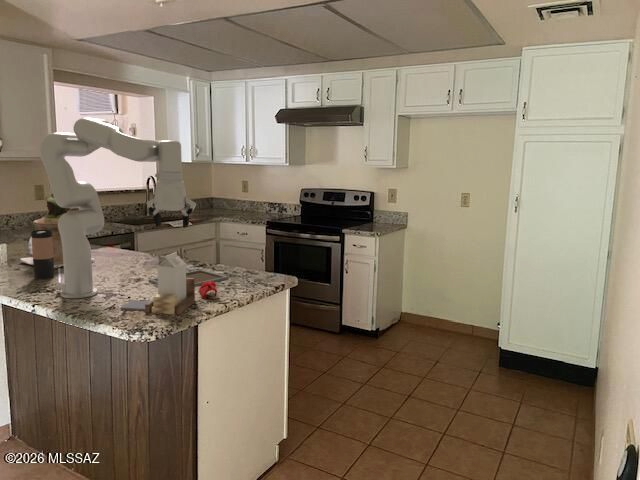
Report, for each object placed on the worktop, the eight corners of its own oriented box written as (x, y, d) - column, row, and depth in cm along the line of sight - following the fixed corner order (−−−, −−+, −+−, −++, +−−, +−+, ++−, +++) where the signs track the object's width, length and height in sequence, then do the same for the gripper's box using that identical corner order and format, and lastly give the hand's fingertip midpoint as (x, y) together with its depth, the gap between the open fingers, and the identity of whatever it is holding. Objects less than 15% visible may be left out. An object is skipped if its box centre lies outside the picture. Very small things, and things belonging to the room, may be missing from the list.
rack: (145, 313, 164) (144, 287, 163) (163, 300, 179) (162, 276, 178) (179, 314, 163) (179, 289, 162) (194, 301, 178) (194, 278, 177)
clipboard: (228, 276, 213) (169, 289, 190) (228, 280, 213) (169, 293, 190) (201, 269, 225) (142, 280, 202) (201, 272, 225) (142, 284, 202)
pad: (120, 309, 168) (120, 307, 167) (132, 301, 176) (132, 300, 176) (145, 310, 167) (145, 308, 167) (156, 302, 176) (156, 301, 176)
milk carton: (158, 307, 170) (156, 255, 167) (169, 302, 177) (167, 251, 174) (176, 310, 169) (175, 256, 165) (186, 304, 175) (185, 252, 172)
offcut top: (154, 301, 164) (154, 296, 164) (158, 298, 168) (158, 293, 168) (172, 302, 164) (172, 297, 164) (176, 299, 167) (176, 294, 167)
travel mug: (48, 274, 212) (45, 229, 208) (58, 277, 208) (55, 230, 204) (30, 277, 205) (27, 231, 202) (40, 280, 201) (37, 233, 198)
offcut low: (151, 313, 165) (151, 307, 165) (157, 310, 169) (156, 304, 168) (174, 315, 164) (174, 309, 164) (179, 311, 168) (178, 305, 168)
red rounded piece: (222, 289, 185) (217, 278, 188) (210, 286, 180) (204, 275, 184) (211, 303, 187) (205, 292, 191) (198, 301, 183) (193, 290, 186)
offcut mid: (153, 307, 165) (153, 301, 164) (158, 304, 169) (158, 298, 168) (174, 309, 164) (174, 303, 164) (179, 305, 168) (179, 300, 167)
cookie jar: (47, 270, 218) (42, 199, 213) (18, 263, 231) (12, 196, 225) (97, 261, 239) (93, 196, 234) (67, 255, 252) (64, 193, 246)
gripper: (141, 176, 163) (143, 227, 166) (191, 178, 162) (192, 229, 165) (150, 176, 170) (152, 224, 173) (198, 177, 169) (199, 226, 172)
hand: (171, 226), depth 169 cm, fingers open, 9 cm apart
